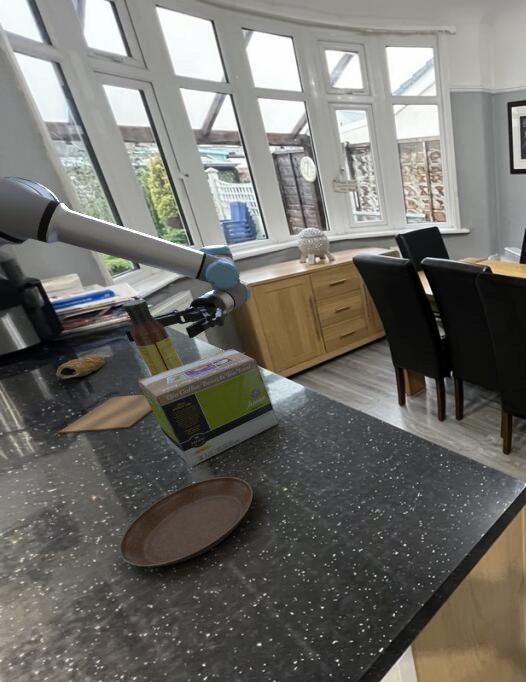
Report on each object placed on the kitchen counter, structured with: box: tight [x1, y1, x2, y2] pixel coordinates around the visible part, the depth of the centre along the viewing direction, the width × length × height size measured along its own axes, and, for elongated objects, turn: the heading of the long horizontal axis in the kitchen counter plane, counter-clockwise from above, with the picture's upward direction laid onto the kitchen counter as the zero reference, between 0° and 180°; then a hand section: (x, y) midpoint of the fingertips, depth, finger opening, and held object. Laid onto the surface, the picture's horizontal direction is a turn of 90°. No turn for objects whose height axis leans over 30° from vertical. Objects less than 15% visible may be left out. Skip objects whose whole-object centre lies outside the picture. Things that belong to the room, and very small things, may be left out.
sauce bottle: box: [122, 299, 184, 376], centre depth 93 cm, size 6×6×20 cm
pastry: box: [55, 355, 106, 380], centre depth 102 cm, size 9×7×4 cm
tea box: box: [137, 348, 279, 468], centre depth 72 cm, size 15×10×15 cm
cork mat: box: [58, 394, 153, 434], centre depth 84 cm, size 13×13×1 cm
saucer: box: [118, 476, 254, 568], centre depth 55 cm, size 15×15×3 cm
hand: (159, 334), depth 95 cm, fingers open, 13 cm apart
